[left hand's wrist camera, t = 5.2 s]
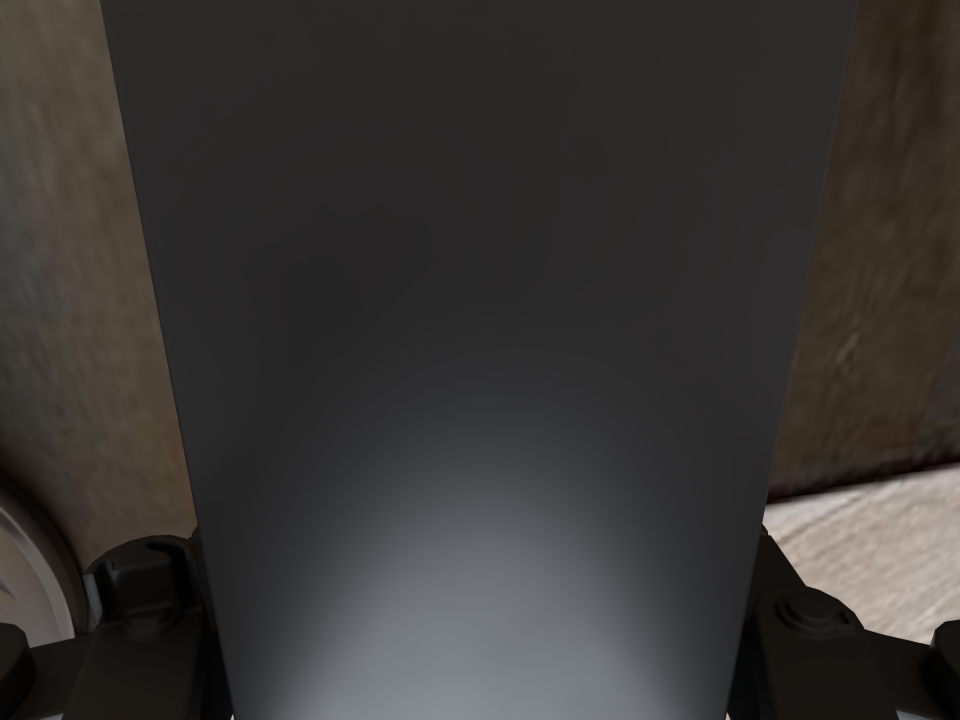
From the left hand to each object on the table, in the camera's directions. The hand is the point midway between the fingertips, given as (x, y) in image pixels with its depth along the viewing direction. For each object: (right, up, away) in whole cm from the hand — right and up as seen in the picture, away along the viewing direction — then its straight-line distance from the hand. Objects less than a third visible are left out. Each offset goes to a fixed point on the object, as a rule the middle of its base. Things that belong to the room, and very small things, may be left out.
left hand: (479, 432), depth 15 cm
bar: (0, +8, -2) cm, 8 cm away
